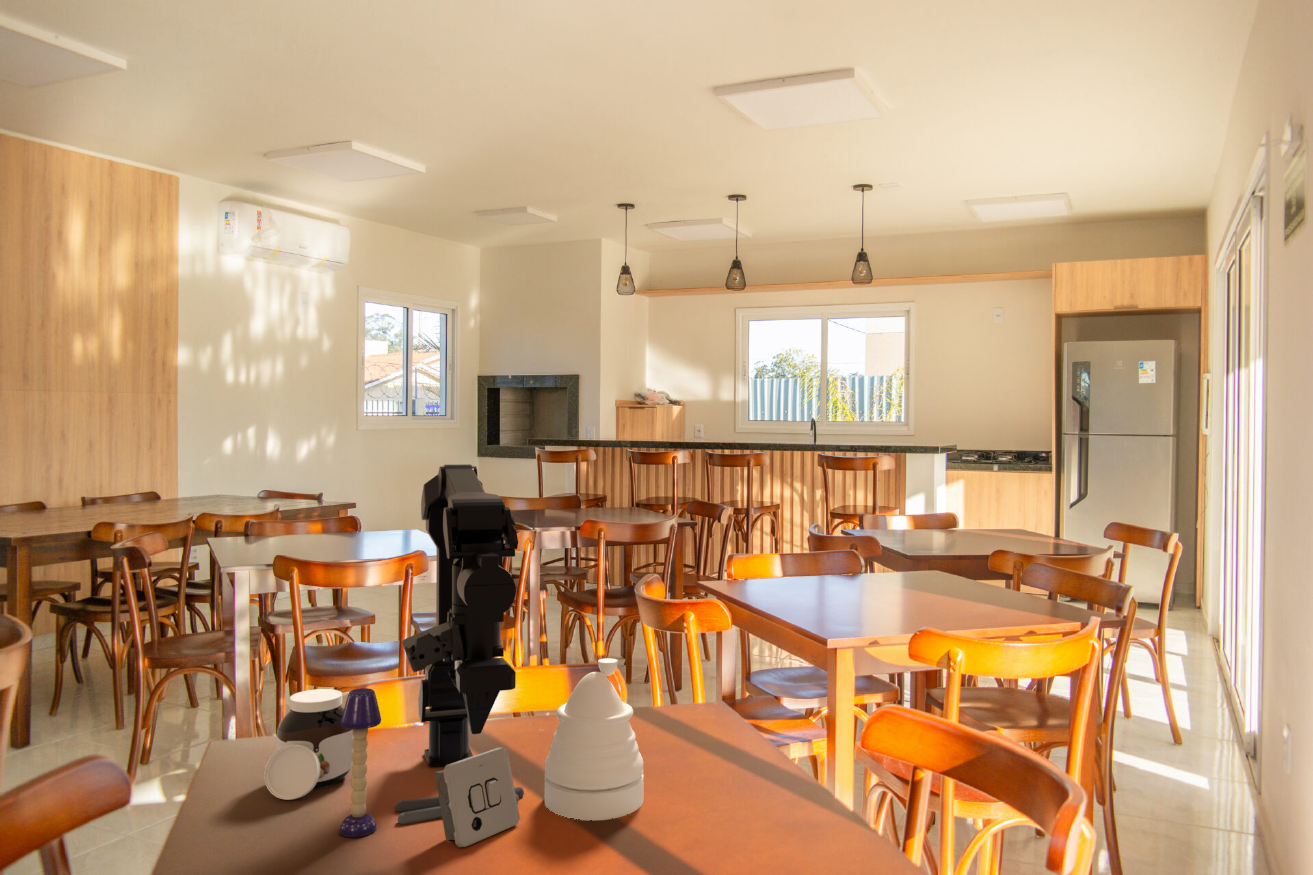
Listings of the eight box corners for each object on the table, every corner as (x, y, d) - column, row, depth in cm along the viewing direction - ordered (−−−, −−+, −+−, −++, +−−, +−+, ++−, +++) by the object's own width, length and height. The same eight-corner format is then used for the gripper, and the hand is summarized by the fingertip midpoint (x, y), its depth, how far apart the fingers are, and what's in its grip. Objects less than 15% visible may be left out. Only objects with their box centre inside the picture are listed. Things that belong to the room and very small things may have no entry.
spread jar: (348, 765, 135) (349, 684, 135) (363, 792, 125) (364, 704, 125) (258, 779, 129) (258, 694, 129) (266, 808, 119) (266, 716, 119)
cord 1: (394, 810, 119) (394, 799, 119) (522, 795, 125) (522, 784, 125) (395, 814, 118) (395, 803, 118) (524, 798, 123) (524, 788, 123)
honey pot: (613, 775, 131) (614, 647, 131) (661, 807, 120) (662, 666, 120) (528, 793, 125) (529, 658, 125) (571, 828, 114) (572, 679, 114)
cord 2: (396, 823, 115) (396, 811, 115) (516, 801, 122) (516, 790, 122) (399, 827, 114) (399, 815, 114) (520, 805, 121) (520, 794, 121)
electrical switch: (460, 851, 107) (456, 768, 108) (432, 843, 110) (428, 762, 111) (521, 825, 115) (517, 747, 115) (493, 818, 118) (488, 743, 118)
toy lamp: (345, 821, 115) (345, 685, 115) (383, 820, 116) (384, 684, 115) (335, 838, 110) (336, 696, 110) (376, 837, 111) (376, 695, 111)
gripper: (401, 593, 119) (400, 717, 119) (413, 621, 101) (413, 766, 101) (489, 589, 122) (489, 709, 122) (516, 615, 105) (516, 755, 105)
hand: (475, 733), depth 112 cm, fingers closed
